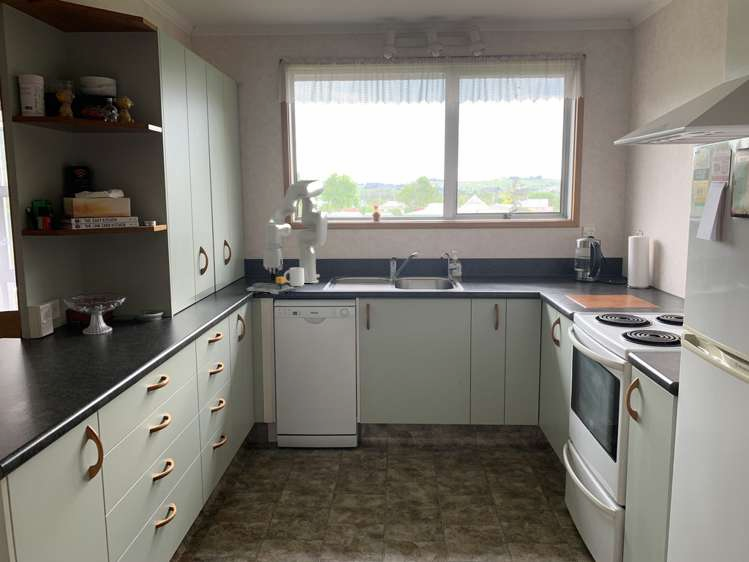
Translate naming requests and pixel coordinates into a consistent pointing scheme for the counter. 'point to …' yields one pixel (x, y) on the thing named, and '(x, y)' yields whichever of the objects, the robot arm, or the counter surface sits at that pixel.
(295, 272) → the mug
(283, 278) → the orange block
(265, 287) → the slider switch board
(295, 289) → the grey bar
